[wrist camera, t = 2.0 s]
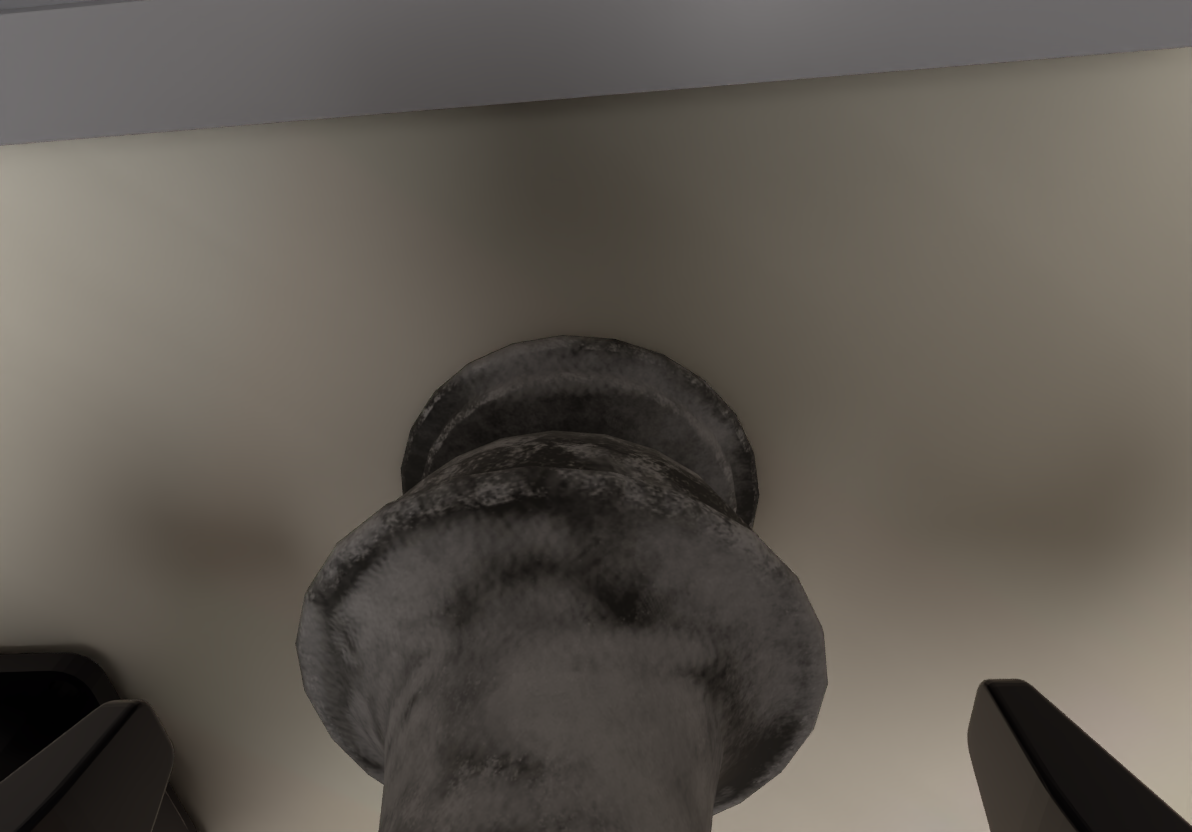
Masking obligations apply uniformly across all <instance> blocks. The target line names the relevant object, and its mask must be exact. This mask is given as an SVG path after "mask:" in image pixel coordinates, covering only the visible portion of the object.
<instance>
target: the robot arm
mask: <svg viewBox="0 0 1192 832" xmlns="http://www.w3.org/2000/svg"><path fill="white" fill-rule="evenodd" d="M967 740H968V748H969V754H970V758H971V761H972V765H973V769H974V772H975V776H976V780H977V783H978V787H979V791H980V794H981V798H982V802H983V805H984V809H985V813H986V816H987V820H988V824H989V827H990V831H991V832H1192V826H1191V825H1190V824H1189V823H1188V822H1187V821H1186V820H1185V819H1183V818H1182V817H1181V816H1180V815H1179V814H1178V813H1177V812H1175V811H1174V810H1173V809H1172V808H1171V807H1170V806H1169V805H1167V804H1166V803H1165V802H1164V801H1163V800H1162V799H1161V798H1159V797H1158V796H1157V795H1156V794H1155V793H1154V792H1153V791H1151V790H1150V789H1149V788H1148V787H1147V786H1146V785H1145V784H1144V783H1142V782H1141V781H1140V780H1139V779H1138V778H1137V777H1136V776H1134V775H1133V774H1132V773H1131V772H1130V771H1129V770H1128V769H1126V768H1125V767H1124V766H1123V765H1122V764H1121V763H1120V762H1118V761H1117V760H1116V759H1115V758H1114V757H1113V756H1112V755H1110V754H1109V753H1108V752H1107V751H1106V750H1105V749H1104V748H1102V747H1101V746H1100V745H1099V744H1098V743H1097V742H1096V741H1094V740H1093V739H1092V738H1091V737H1090V736H1089V735H1088V734H1087V733H1085V732H1084V731H1083V730H1082V729H1081V728H1080V727H1079V726H1077V725H1076V724H1075V723H1074V722H1073V721H1072V720H1071V719H1069V718H1068V717H1067V716H1066V715H1065V714H1064V713H1063V712H1061V711H1060V710H1059V709H1058V708H1057V707H1056V706H1055V705H1053V704H1052V703H1051V702H1050V701H1049V700H1048V699H1047V698H1045V697H1044V696H1043V695H1042V694H1041V693H1040V692H1039V691H1037V690H1036V689H1035V688H1034V687H1033V686H1032V685H1030V684H1029V683H1027V682H1025V681H1023V680H1021V679H988V680H984V681H983V682H981V684H980V685H979V687H978V689H977V693H976V697H975V702H974V706H973V710H972V714H971V718H970V723H969V727H968V734H967ZM173 762H174V750H173V745H172V743H171V741H170V739H169V737H168V735H167V733H166V732H165V730H164V728H163V726H162V724H161V723H160V721H159V719H158V717H157V715H156V714H155V712H154V710H153V708H152V707H151V705H150V704H149V703H147V702H146V701H144V700H120V698H119V696H118V694H117V693H116V691H115V689H114V688H113V686H112V684H111V682H110V681H109V679H108V677H107V676H106V674H105V672H104V671H103V670H102V669H101V667H100V666H99V665H98V664H97V663H95V662H94V661H92V660H91V659H89V658H87V657H84V656H81V655H79V654H73V653H34V654H0V832H197V830H196V828H195V826H194V825H193V823H192V821H191V820H190V818H189V816H188V814H187V813H186V811H185V809H184V808H183V806H182V804H181V802H180V801H179V799H178V797H177V796H176V794H175V792H174V790H173V789H172V787H171V785H170V784H169V782H168V780H169V777H170V774H171V771H172V767H173Z"/></svg>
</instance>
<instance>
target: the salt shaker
mask: <svg viewBox="0 0 1192 832" xmlns="http://www.w3.org/2000/svg"><path fill="white" fill-rule="evenodd" d="M401 476H402V488H403V495H402V496H401V497H400V498H399V499H397V500H396V501H393V502H391V503H388V504H386V505H385V506H384V507H382V508H381V509H380V510H379V511H377V512H376V513H375V514H374V515H372V516H371V517H370V518H368V519H367V520H366V521H365V522H363V523H362V524H361V525H359V526H358V527H357V528H356V529H354V530H353V531H352V532H351V533H349V534H348V535H347V536H345V537H344V538H343V539H342V540H340V541H339V542H338V543H337V544H336V546H335V547H334V549H333V551H332V552H331V554H330V555H329V557H328V558H327V560H326V561H325V563H324V565H323V566H322V568H321V569H320V571H319V572H318V574H317V575H316V577H315V579H314V580H313V582H312V583H311V585H310V586H309V588H308V590H307V592H306V594H305V597H304V602H303V607H302V612H301V618H300V623H299V628H298V633H297V639H296V649H297V654H298V659H299V664H300V669H301V675H302V680H303V685H304V690H305V692H306V694H307V696H308V698H309V699H310V701H311V703H312V705H313V706H314V708H315V710H316V712H317V713H318V715H319V717H320V719H321V720H322V722H323V724H324V726H325V727H326V729H327V731H328V733H329V734H330V736H331V738H332V739H333V740H334V741H335V742H336V743H337V744H338V745H339V746H340V747H341V748H342V749H343V750H344V751H345V752H346V753H347V754H348V755H349V756H350V757H351V758H352V759H353V760H354V761H355V762H356V763H357V764H358V765H359V766H360V767H361V768H362V769H363V770H364V771H365V772H366V773H367V774H368V775H370V776H371V777H373V778H374V779H376V780H377V781H379V782H381V783H382V784H384V788H383V798H382V807H381V816H380V825H379V831H378V832H711V828H712V816H713V815H715V814H717V813H720V812H722V811H724V810H726V809H728V808H731V807H733V806H735V805H737V804H739V803H741V802H743V801H744V800H745V799H746V798H748V797H749V796H750V795H752V794H753V793H754V792H756V791H757V790H758V789H760V788H761V787H762V786H764V785H765V784H766V783H768V782H769V781H770V780H771V779H773V778H774V777H775V776H777V775H778V774H779V773H781V772H782V770H783V769H784V768H785V767H786V765H787V764H788V763H789V761H790V760H791V759H792V757H793V756H794V755H795V753H796V752H797V751H798V749H799V748H800V747H801V745H802V744H803V743H804V741H805V740H806V739H807V737H808V736H809V735H810V733H811V732H812V731H813V729H814V726H815V723H816V720H817V717H818V714H819V710H820V707H821V704H822V701H823V697H824V694H825V691H826V688H827V685H828V679H827V667H826V655H825V643H824V633H823V629H822V626H821V624H820V622H819V620H818V618H817V616H816V614H815V612H814V610H813V608H812V606H811V603H810V601H809V599H808V597H807V595H806V593H805V591H804V589H803V587H802V585H801V583H800V581H799V579H798V577H797V576H796V575H795V574H794V573H793V572H792V571H791V570H790V569H789V568H788V567H787V566H786V565H785V564H784V563H783V562H782V561H781V560H780V559H779V558H778V557H777V556H776V555H775V553H774V552H773V551H772V550H771V549H770V548H769V547H768V546H767V545H766V544H765V543H764V542H763V541H762V540H761V539H760V538H759V536H758V535H757V534H756V533H755V532H754V531H753V530H752V527H753V522H754V517H755V512H756V508H757V503H758V498H759V490H758V482H757V474H756V466H755V458H754V453H753V450H752V448H751V446H750V444H749V442H748V440H747V437H746V435H745V433H744V431H743V429H742V427H741V425H740V423H739V421H738V419H737V416H736V414H735V413H734V412H733V411H732V410H731V409H730V408H729V407H728V406H727V404H726V403H725V402H724V401H723V400H722V399H721V398H720V397H719V396H718V395H717V393H716V392H715V391H714V390H713V389H712V388H711V387H710V386H709V385H708V384H707V383H706V381H704V380H703V379H701V378H700V377H698V376H696V375H695V374H693V373H692V372H690V371H688V370H687V369H685V368H684V367H682V366H680V365H679V364H677V363H676V362H674V361H672V360H671V359H669V358H668V357H666V356H664V355H662V354H659V353H656V352H653V351H650V350H647V349H643V348H640V347H637V346H634V345H631V344H628V343H625V342H622V341H619V340H615V339H604V338H590V337H577V336H557V337H551V338H545V339H539V340H533V341H527V342H521V343H515V344H511V345H509V346H507V347H505V348H502V349H500V350H498V351H496V352H493V353H491V354H489V355H487V356H484V357H482V358H480V359H478V360H475V361H473V362H471V363H469V364H468V365H466V366H465V367H464V368H463V369H462V370H460V371H459V372H458V373H457V374H456V375H454V376H453V377H452V378H451V379H450V380H448V381H447V382H446V383H445V384H444V385H442V386H441V387H440V388H439V389H438V390H436V391H435V392H434V394H433V395H432V397H431V398H430V400H429V401H428V403H427V405H426V406H425V408H424V409H423V411H422V412H421V414H420V415H419V417H418V419H417V420H416V422H415V423H414V425H413V426H412V428H411V431H410V434H409V438H408V442H407V446H406V450H405V454H404V458H403V462H402V466H401Z"/></svg>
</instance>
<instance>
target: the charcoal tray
mask: <svg viewBox="0 0 1192 832" xmlns="http://www.w3.org/2000/svg"><path fill="white" fill-rule="evenodd" d="M1182 47H1192V0H0V145H12V144H24V143H36V142H48V141H60V140H73V139H85V138H97V137H109V136H121V135H133V134H145V133H157V132H169V131H181V130H193V129H205V128H217V127H229V126H241V125H253V124H266V123H278V122H290V121H302V120H314V119H326V118H338V117H350V116H362V115H374V114H386V113H398V112H410V111H422V110H434V109H446V108H458V107H471V106H483V105H495V104H507V103H519V102H531V101H543V100H555V99H567V98H579V97H591V96H603V95H615V94H627V93H639V92H651V91H663V90H676V89H688V88H700V87H712V86H724V85H736V84H748V83H760V82H772V81H784V80H796V79H808V78H820V77H832V76H844V75H856V74H869V73H881V72H893V71H905V70H917V69H929V68H941V67H953V66H965V65H977V64H989V63H1001V62H1013V61H1025V60H1037V59H1049V58H1061V57H1074V56H1086V55H1098V54H1110V53H1122V52H1134V51H1146V50H1158V49H1170V48H1182Z"/></svg>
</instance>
